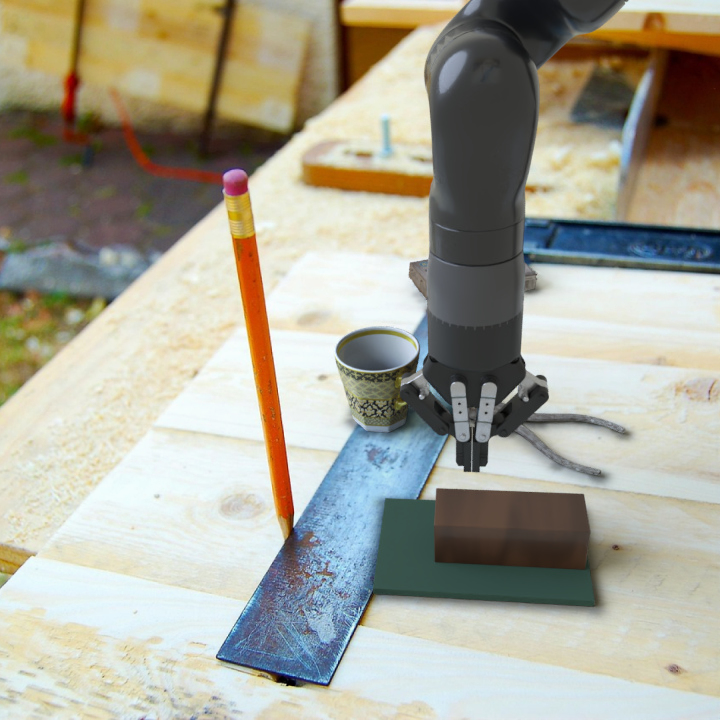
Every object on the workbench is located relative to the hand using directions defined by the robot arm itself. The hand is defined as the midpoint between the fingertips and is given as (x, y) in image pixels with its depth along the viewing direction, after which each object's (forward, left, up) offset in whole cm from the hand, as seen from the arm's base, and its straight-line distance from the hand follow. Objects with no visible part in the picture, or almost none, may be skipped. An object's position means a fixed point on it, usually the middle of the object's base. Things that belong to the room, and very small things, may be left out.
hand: (472, 466), depth 69 cm
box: (0, -55, -11) cm, 56 cm away
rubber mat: (-1, 0, -11) cm, 11 cm away
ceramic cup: (+10, -20, -11) cm, 25 cm away
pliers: (-7, -18, -11) cm, 22 cm away
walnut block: (+3, 0, -8) cm, 8 cm away
